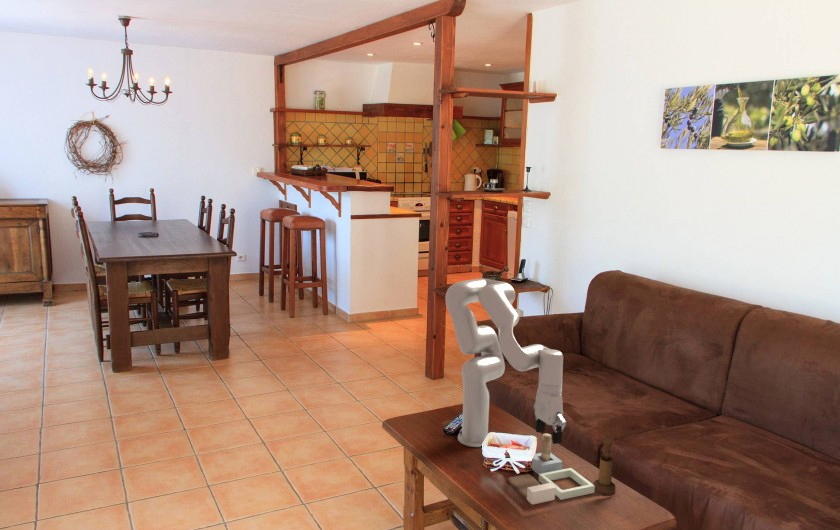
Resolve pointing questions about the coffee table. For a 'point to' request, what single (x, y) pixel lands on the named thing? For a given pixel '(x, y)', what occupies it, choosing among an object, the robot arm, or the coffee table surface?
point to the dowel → (546, 447)
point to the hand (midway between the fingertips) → (548, 437)
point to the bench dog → (541, 493)
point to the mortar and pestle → (605, 471)
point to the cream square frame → (572, 492)
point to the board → (523, 483)
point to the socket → (546, 464)
